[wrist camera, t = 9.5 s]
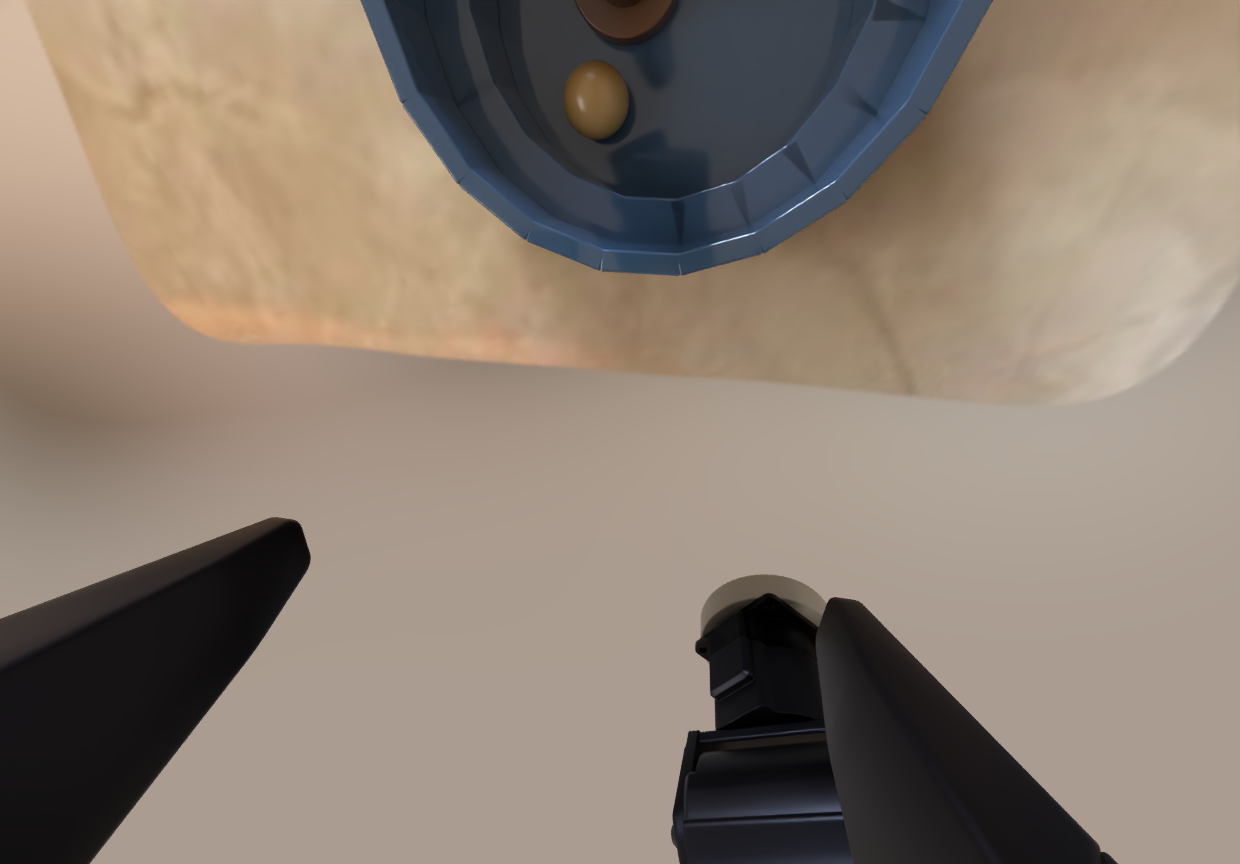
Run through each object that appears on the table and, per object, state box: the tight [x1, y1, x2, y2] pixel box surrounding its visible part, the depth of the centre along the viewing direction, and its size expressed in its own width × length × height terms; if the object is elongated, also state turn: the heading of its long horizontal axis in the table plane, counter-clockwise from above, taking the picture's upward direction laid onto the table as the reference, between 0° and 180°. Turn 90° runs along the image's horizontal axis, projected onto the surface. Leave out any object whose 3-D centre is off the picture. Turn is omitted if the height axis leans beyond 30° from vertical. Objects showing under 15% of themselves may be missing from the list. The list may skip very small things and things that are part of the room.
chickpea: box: [563, 60, 629, 140], centre depth 15 cm, size 2×2×2 cm
